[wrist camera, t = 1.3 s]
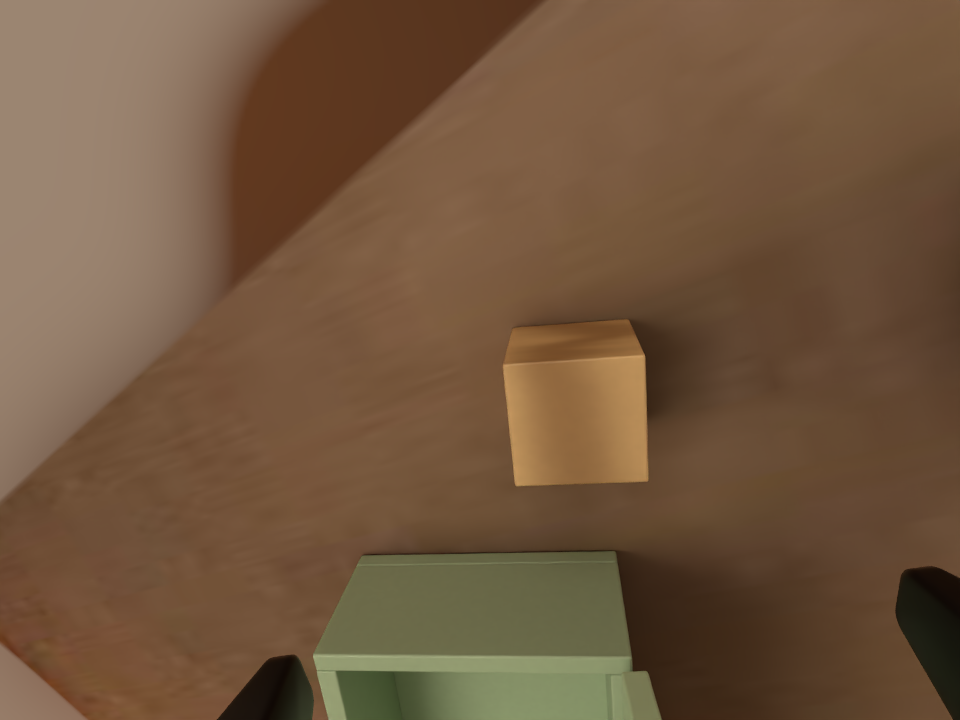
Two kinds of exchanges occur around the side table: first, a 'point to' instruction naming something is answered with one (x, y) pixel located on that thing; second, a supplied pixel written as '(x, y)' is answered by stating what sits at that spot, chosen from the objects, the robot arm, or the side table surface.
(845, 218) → the side table surface
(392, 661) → the chest
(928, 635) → the robot arm
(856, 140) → the side table surface
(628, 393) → the block
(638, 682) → the lid
